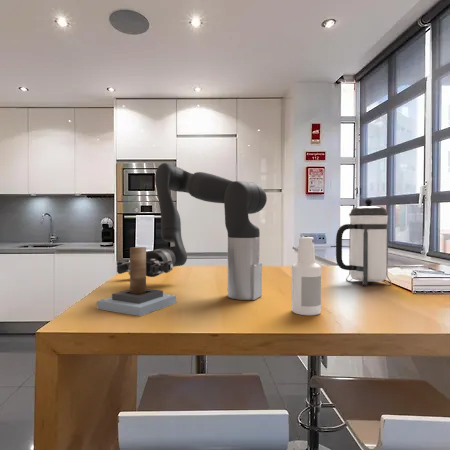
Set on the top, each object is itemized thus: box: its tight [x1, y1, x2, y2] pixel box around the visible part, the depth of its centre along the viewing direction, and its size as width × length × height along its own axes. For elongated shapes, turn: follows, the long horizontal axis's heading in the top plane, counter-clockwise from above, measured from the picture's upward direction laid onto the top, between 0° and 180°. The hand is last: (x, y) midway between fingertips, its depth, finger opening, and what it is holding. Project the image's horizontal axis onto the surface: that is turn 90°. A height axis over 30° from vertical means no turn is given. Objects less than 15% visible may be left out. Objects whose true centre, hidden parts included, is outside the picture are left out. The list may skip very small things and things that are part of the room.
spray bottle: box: [291, 236, 322, 316], centre depth 80 cm, size 7×7×18 cm
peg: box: [129, 246, 147, 295], centre depth 86 cm, size 4×4×15 cm
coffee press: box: [335, 198, 392, 287], centre depth 117 cm, size 17×16×30 cm
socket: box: [96, 288, 177, 317], centre depth 85 cm, size 14×14×4 cm
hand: (135, 270), depth 84 cm, fingers open, 8 cm apart
